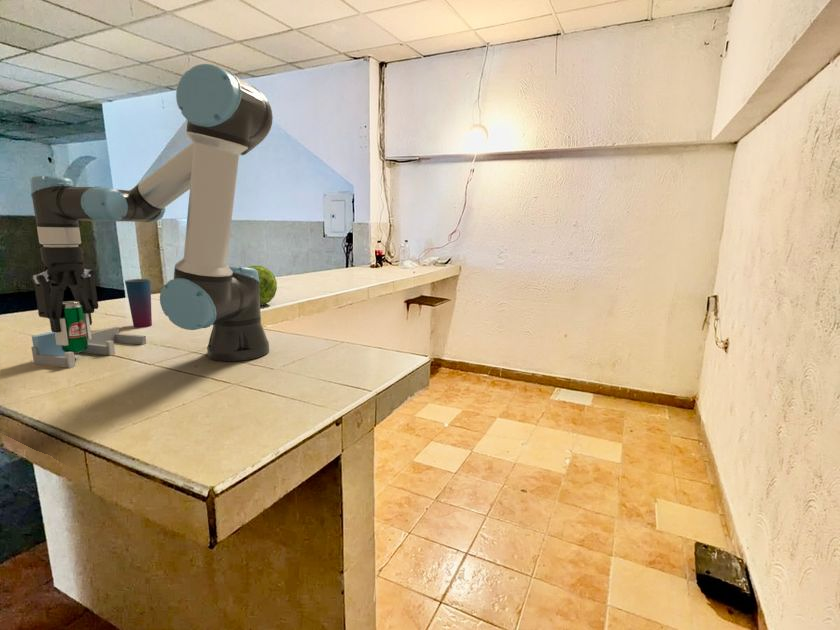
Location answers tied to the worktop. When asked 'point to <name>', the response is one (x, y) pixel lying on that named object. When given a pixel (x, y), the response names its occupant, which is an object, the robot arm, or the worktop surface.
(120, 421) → the worktop surface
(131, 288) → the cup
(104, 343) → the three-post can rack
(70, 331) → the soda can
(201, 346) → the worktop surface
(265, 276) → the green watermelon
